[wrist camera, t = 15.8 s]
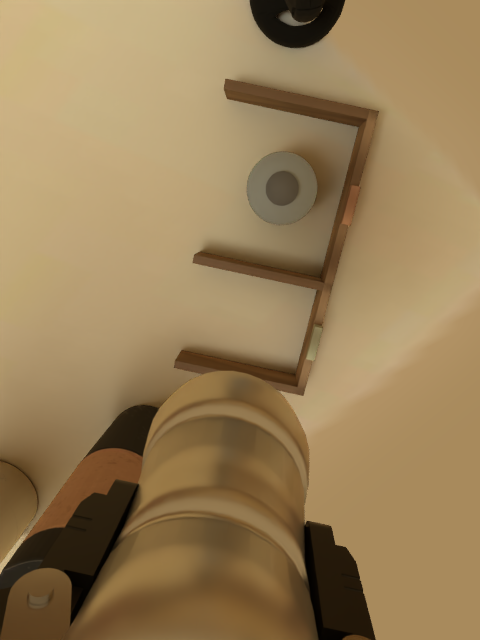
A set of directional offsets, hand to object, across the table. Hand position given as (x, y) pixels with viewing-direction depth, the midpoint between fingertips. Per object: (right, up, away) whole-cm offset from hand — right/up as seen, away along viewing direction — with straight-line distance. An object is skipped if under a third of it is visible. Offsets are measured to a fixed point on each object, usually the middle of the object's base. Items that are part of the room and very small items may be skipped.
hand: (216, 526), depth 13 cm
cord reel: (+4, +18, +24) cm, 30 cm away
